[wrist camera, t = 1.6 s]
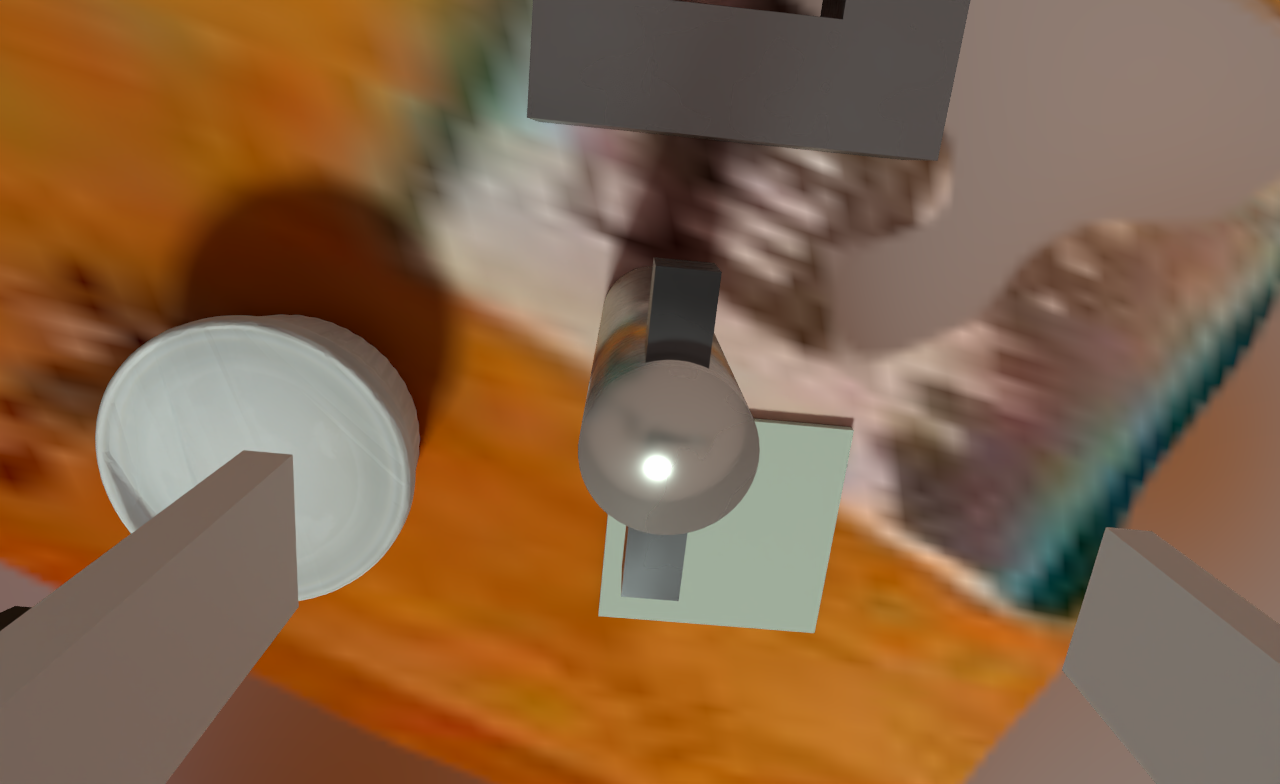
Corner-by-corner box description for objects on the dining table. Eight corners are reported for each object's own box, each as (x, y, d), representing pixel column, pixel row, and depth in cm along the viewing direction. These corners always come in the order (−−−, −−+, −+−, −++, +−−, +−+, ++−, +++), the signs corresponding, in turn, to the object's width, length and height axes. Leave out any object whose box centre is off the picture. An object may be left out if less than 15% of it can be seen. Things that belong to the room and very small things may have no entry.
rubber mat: (598, 610, 35) (598, 615, 35) (618, 405, 32) (618, 409, 32) (812, 627, 36) (814, 633, 35) (850, 427, 33) (853, 430, 32)
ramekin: (119, 402, 32) (23, 448, 27) (306, 234, 30) (240, 250, 25) (312, 584, 35) (258, 657, 30) (496, 441, 33) (471, 492, 28)
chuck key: (594, 403, 32) (565, 604, 18) (611, 210, 30) (592, 262, 16) (688, 412, 32) (734, 617, 18) (712, 220, 30) (786, 281, 16)
